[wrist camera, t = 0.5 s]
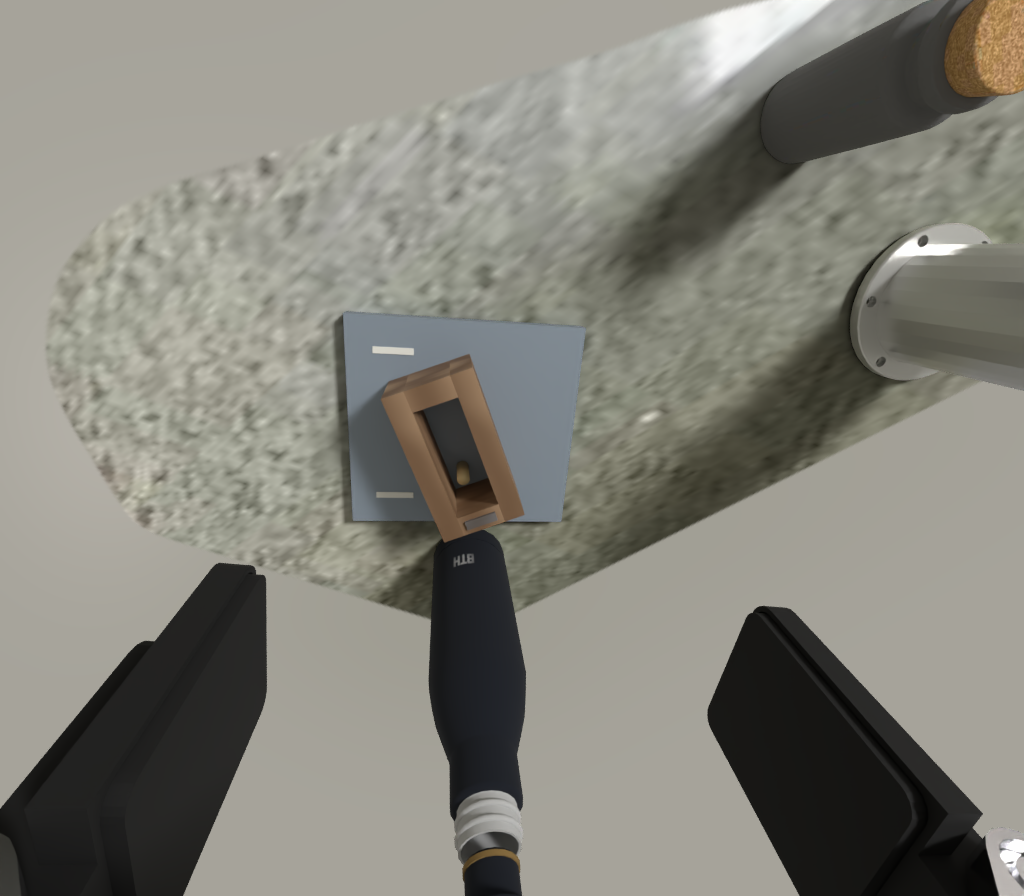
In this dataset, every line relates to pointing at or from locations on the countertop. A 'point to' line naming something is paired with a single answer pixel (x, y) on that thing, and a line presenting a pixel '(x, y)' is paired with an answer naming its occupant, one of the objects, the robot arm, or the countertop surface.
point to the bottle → (898, 79)
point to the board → (508, 392)
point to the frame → (447, 504)
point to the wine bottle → (479, 707)
